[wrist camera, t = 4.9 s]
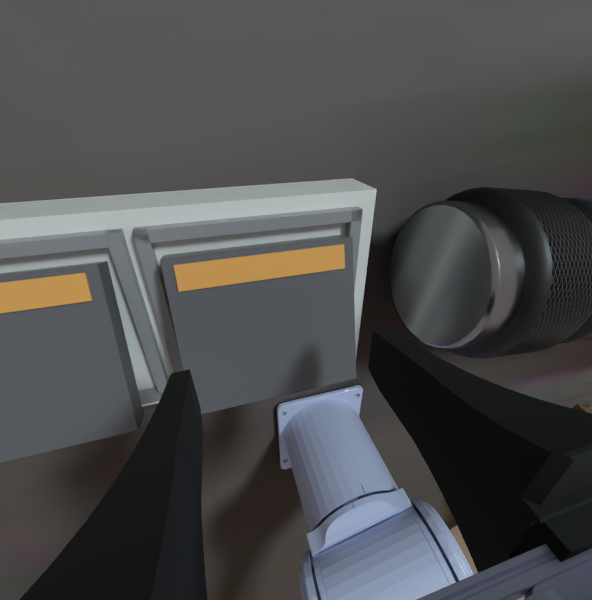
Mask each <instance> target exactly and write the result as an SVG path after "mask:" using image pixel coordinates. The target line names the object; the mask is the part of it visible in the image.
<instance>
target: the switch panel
mask: <svg viewBox="0 0 592 600" xmlns="http://www.w3.org/2000/svg"><path fill="white" fill-rule="evenodd" d="M376 190H377V189H375V188H373V187H370V186H368V185H366V184H364V183H361V182H359V181H357V180H355V179H353V178H351V179H337V180H323V181H309V182H295V183H280V184H266V185H252V186H238V187H224V188H210V189H196V190H182V191H168V192H154V193H139V194H125V195H111V196H97V197H83V198H69V199H55V200H41V201H27V202H13V203H0V273H7V272H16V271H25V270H34V269H42V268H51V267H60V266H69V265H77V264H86V263H95V262H104V261H107V262H108V266H109V270H110V274H111V279H112V283H113V287H114V291H115V295H116V300H117V304H118V308H119V312H120V316H121V321H122V325H123V329H124V333H125V337H126V342H127V346H128V350H129V354H130V358H131V363H132V367H133V371H134V375H135V379H136V384H137V388H138V392H139V396H140V400H141V405H142V407H143V406H148V405H152V404H157V403H159V401H160V399H161V396H162V394H163V392H164V389H165V387H166V384H167V381H168V379H169V376H170V375H171V374H172V373H175V372H179V371H183V366H182V361H181V357H180V352H179V347H178V342H177V338H176V333H175V328H174V323H173V319H172V314H171V309H170V305H169V300H168V295H167V290H166V286H165V281H164V276H163V271H162V267H161V262H160V259H161V258H162V257H163V256H164V255H169V254H178V253H187V252H195V251H204V250H213V249H221V248H230V247H239V246H248V245H256V244H265V243H274V242H282V241H291V240H300V239H308V238H317V237H326V236H335V235H345V236H350V237H353V271H354V308H355V345H356V355H357V346H358V338H359V330H360V322H361V313H362V305H363V297H364V289H365V280H366V272H367V264H368V256H369V248H370V239H371V231H372V223H373V215H374V206H375V198H376Z"/></svg>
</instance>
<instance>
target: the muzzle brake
mask: <svg viewBox="0 0 592 600" xmlns="http://www.w3.org/2000/svg"><path fill="white" fill-rule="evenodd" d="M389 273H390V288H391V295H392V298H393V302H394V306H395V308H396V311H397V313H398V316H399V317H400V319H401V321H402V323H403V324H404V326H405V327H406V328H407V330H408V331H409V332H410V333H411V334H412V335H413V336H414V337H415V338H417V339H418V340H419V341H421V342H423V343H425V344H426V345H428V346H431V347H435V348H439V349H447V350H449V351H451V352H453V353H455V354H458V355H462V356H466V357H469V358H491V357H499V356H506V355H513V354H521V353H528V352H533V351H538V350H543V349H547V348H549V347H551V346H553V345H555V344H558V343H566V342H572V341H577V340H583V339H592V199H577V198H560V197H557V196H555V195H552V194H549V193H547V192H539V191H532V190H518V189H503V188H488V187H482V188H473V189H468V190H465V191H463V192H460V193H457V194H454V195H453V196H451V197H450V198H448V199H446V200H445V201H437V202H434V203H431V204H428V205H426V206H424V207H422V208H421V209H419V210H418V211H416V212H415V213H414V214H413V215H412V216H411V217H410V218H409V219H408V220H407V221H406V223H405V224H404V226H403V227H402V228H401V230H400V232H399V234H398V236H397V238H396V241H395V243H394V246H393V249H392V254H391V259H390V270H389Z"/></svg>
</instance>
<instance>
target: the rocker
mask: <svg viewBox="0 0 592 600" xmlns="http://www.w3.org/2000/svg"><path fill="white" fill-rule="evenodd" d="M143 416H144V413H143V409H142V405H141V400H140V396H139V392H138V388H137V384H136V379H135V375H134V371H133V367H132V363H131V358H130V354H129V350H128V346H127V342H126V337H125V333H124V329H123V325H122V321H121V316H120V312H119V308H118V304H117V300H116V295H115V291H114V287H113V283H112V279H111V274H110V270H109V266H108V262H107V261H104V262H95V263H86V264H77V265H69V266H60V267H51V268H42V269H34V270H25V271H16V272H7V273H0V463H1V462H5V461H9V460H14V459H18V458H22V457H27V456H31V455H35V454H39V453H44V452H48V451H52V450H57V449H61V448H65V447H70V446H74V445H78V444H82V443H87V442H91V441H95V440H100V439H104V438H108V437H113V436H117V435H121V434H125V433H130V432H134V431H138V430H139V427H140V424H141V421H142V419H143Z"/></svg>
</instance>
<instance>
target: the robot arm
mask: <svg viewBox="0 0 592 600" xmlns="http://www.w3.org/2000/svg"><path fill="white" fill-rule="evenodd" d="M368 368H369V370H370V372H371V375H372V377H373V379H374V381H375V383H376V384H377V386H378V388H379V390H380V392H381V393H382V395H383V396H384V398H385V399H386V401H387V402H388V404H389V405H390V407H391V408H392V409H393V411H394V412H395V414H396V415H397V417H398V418H399V420H400V421H401V423H402V424H403V426H404V427H405V428H406V430H407V431H408V433H409V434H410V436H411V437H412V439H413V441H414V442H415V444H416V445H417V447H418V449H419V451H420V452H421V454H422V456H423V458H424V460H425V462H426V463H427V465H428V467H429V469H430V471H431V473H432V475H433V477H434V478H435V480H436V482H437V484H438V486H439V488H440V490H441V492H442V494H443V496H444V498H445V500H446V502H447V504H448V506H449V508H450V510H451V513H452V515H453V517H454V519H455V521H456V523H457V525H458V527H459V529H460V532H461V534H462V536H463V539H464V541H465V543H466V545H467V547H468V550H469V552H470V554H471V557H472V559H473V561H474V564H475V566H476V568H477V571H478V573H477V574H473V572H472V570H471V568H470V566H469V564H468V562H467V560H466V558H465V556H464V554H463V552H462V551H461V549H460V547H459V545H458V544H457V542H456V540H455V539H454V537H453V535H452V534H451V532H450V530H449V529H448V527H447V526H446V524H445V523H444V521H443V520H442V518H441V517H440V515H439V514H438V513H437V512H436V510H435V509H434V508H433V507H432V506H431V505H430V504H428V503H426V502H424V501H422V500H421V499H419V498H415V499H413V500H411V501H410V500H409V498H408V497H407V495H406V493H405V491H404V489H403V488H400V489H398V487H397V485H396V484H395V482H394V480H393V478H392V476H391V474H390V473H389V471H388V469H387V467H386V465H385V463H384V462H383V460H382V458H381V456H380V454H379V452H378V451H377V449H376V447H375V445H374V443H373V442H372V440H371V438H370V436H369V434H368V432H367V431H366V429H365V427H364V425H363V423H362V421H361V420H360V418H359V413H360V406H361V399H362V392H363V389H362V387H361V386H360V385H356V386H352V387H347V388H343V389H339V390H335V391H331V392H326V393H322V394H318V395H314V396H310V397H305V398H301V399H297V400H293V401H288V402H284V403H281V404H279V405H278V406H277V419H278V435H279V452H280V466H281V469H288V468H292V471H293V475H294V478H295V482H296V485H297V489H298V492H299V496H300V499H301V503H302V506H303V510H304V513H305V517H306V521H307V524H308V526H309V529H310V531H311V532H309V533H308V534H307V535H306V536H307V540H308V543H309V547H310V550H309V551H307V552H305V553H304V554H303V556H302V561H301V564H300V567H299V584H300V591H301V596H302V600H517V599H519V598H521V597H523V596H525V599H524V600H592V413H588V412H584V411H580V410H576V409H571V408H567V407H563V406H560V405H556V404H553V403H550V402H546V401H543V400H539V399H536V398H533V397H530V396H527V395H524V394H521V393H518V392H515V391H513V390H510V389H507V388H504V387H502V386H499V385H496V384H494V383H491V382H489V381H487V380H484V379H482V378H480V377H477V376H475V375H473V374H470V373H468V372H466V371H464V370H462V369H460V368H458V367H456V366H454V365H452V364H450V363H448V362H446V361H444V360H442V359H440V358H439V357H437V356H435V355H433V354H431V353H430V352H428V351H426V350H424V349H423V348H421V347H419V346H417V345H416V344H414V343H412V342H410V341H409V340H407V339H405V338H404V337H402V336H400V335H399V334H397V333H395V332H393V331H391V330H390V329H388V328H384V329H379V330H374V331H373V335H372V343H371V351H370V359H369V367H368ZM202 450H203V430H202V418H201V407H200V404H199V400H198V397H197V393H196V390H195V386H194V382H193V379H192V375H191V372H190V369H189V370H184V371H179V372H175V373H172V374H171V375H170V376H169V379H168V381H167V384H166V387H165V389H164V392H163V394H162V396H161V399H160V401H159V403H158V405H157V408H156V410H155V412H154V414H153V416H152V418H151V420H150V422H149V424H148V426H147V428H146V430H145V432H144V434H143V435H142V437H141V439H140V441H139V443H138V444H137V446H136V448H135V450H134V452H133V453H132V455H131V457H130V458H129V460H128V462H127V463H126V465H125V466H124V468H123V470H122V471H121V473H120V474H119V476H118V477H117V479H116V480H115V482H114V483H113V485H112V486H111V488H110V489H109V490H108V492H107V493H106V495H105V496H104V498H103V499H102V500H101V502H100V503H99V505H98V506H97V507H96V509H95V510H94V511H93V513H92V514H91V515H90V517H89V518H88V519H87V521H86V522H85V523H84V525H83V526H82V527H81V528H80V529H79V531H78V532H77V533H76V534H75V536H74V537H73V538H72V539H71V541H70V542H69V543H68V544H67V546H66V547H65V548H64V549H63V551H62V552H61V553H60V554H59V555H58V557H57V558H56V559H55V560H54V561H53V563H52V564H51V565H50V566H49V567H48V569H47V570H46V571H45V572H44V573H43V574H42V575H41V576H40V578H39V579H38V580H37V581H36V582H35V583H34V584H33V585H32V586H31V588H30V589H29V590H28V591H27V592H26V593H25V594H24V595H23V596H22V598H21V599H20V600H207V592H206V579H205V565H204V551H203V535H202V518H201V483H202Z"/></svg>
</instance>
